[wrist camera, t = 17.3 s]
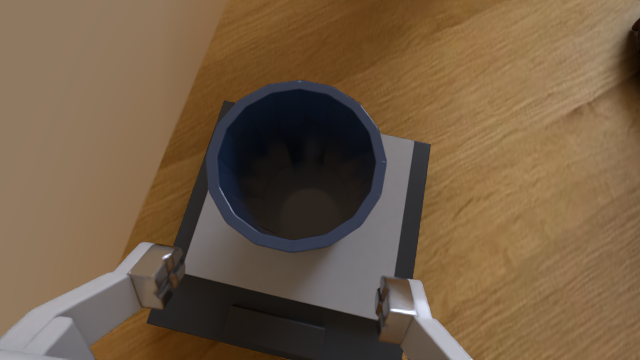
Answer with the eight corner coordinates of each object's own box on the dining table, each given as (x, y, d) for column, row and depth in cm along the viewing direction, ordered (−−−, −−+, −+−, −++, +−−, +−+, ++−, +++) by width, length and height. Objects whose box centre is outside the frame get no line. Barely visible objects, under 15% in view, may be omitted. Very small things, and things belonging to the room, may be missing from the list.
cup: (248, 238, 18) (180, 227, 9) (273, 150, 19) (236, 66, 10) (343, 261, 17) (368, 271, 9) (361, 169, 19) (398, 98, 10)
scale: (166, 314, 20) (135, 327, 16) (233, 114, 24) (219, 92, 20) (388, 370, 19) (403, 396, 16) (419, 154, 23) (436, 138, 20)
